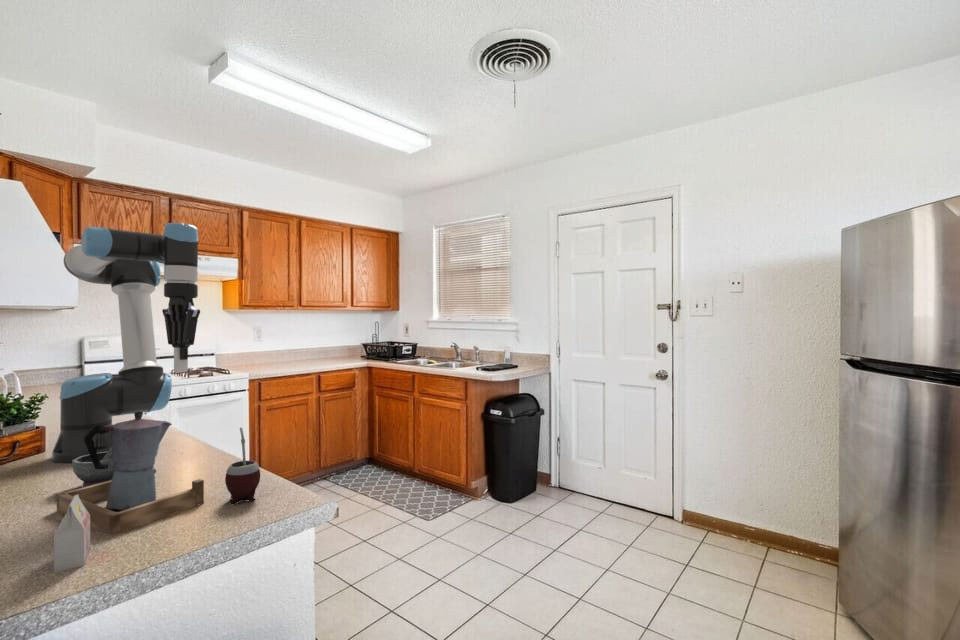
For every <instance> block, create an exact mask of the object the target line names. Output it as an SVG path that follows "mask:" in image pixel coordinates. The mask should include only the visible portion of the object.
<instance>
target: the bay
mask: <svg viewBox="0 0 960 640" xmlns="http://www.w3.org/2000/svg"><path fill="white" fill-rule="evenodd" d="M111 483H112V480H110V481H106V482H103V483H99V484H95V485H91V486H87V487H84V488H82V487H80V488H77V489H74V490H73V489H72V490H70V491H65V492H61V493H58V494H56V512H57V511H58V513H60V514H63V515H64V516H65V515H66V513H67V510H68V507H69V505H70V504H71V502H72V500H73V498H74V496H75V494H76V495H79V498H80V500H81V502H82V504H83V506H84V507H85V508H86V510H87V511H88V513H89V514H90V527H94V528H95V529H97V530H101V531H103V532H105V533H107V534H110V535H112V536H113V535H116V534H119V533H121V532H124V531H128V530H130V529H134V528H135V527H138V526H141V525H145V524H147V523H151V522H152V521H156V520H158V519H162V518H164V517H168V516H170V515H172V514H175V513H178V512H180V511H181V512H182V511H184V510H187V509H190V508H192V507H195V505H197V506H199V504H200V505H202V504H204V503H205V501H204V500H205V499H204V498H205V497H204V496H205V494H204V493H205V490H204V488H205V487H204V486H205V480H203V479H195V480H192V482H191V488H189V489H186V490H183V491H180V492H177V493H174V494H169V495H168V496H165V497H161V498H158V499H156V500H155V501H151V502H148V503H145V504H142V505H139V506H136V507H133V508H129V509H126V510H119V511H117V512H116V511H115V510H112V509H109V508H106V507H103V506H101V505H97V504H95V503H96V502H100V501H103V499H104V500H106V499H107V500H108V496H109V492H110V488H111Z"/></svg>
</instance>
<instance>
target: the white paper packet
mask: <svg viewBox="0 0 960 640" xmlns="http://www.w3.org/2000/svg"><path fill="white" fill-rule="evenodd" d="M57 527H58V528H57V529H56V531H55V533H54V535H53V572H54V573H57V572H60V571H64V570H65V571H66V570H71V569H74V568H79V567H84V566H85V563H86V561H87V557H88V555H89V553H90V550H91V525H90V514H89V513H88V511H87V510H86V508H85V507H84V506H83V504H82V502H81V500H80V498H79V495H76V494H75V496H74V498H73V500H72V502H71V504H70V505H69V507H68V510H67V513H66V515H65V514H64V517H63V518H62V520H61V522H60V524H59V525H58V526H57Z"/></svg>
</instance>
